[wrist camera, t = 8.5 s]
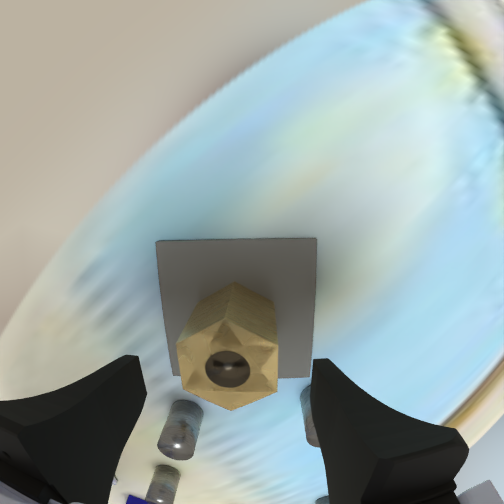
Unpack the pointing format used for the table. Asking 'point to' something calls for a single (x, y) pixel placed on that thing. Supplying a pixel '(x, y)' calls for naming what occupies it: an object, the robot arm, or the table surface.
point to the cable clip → (135, 500)
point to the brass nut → (230, 348)
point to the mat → (250, 276)
